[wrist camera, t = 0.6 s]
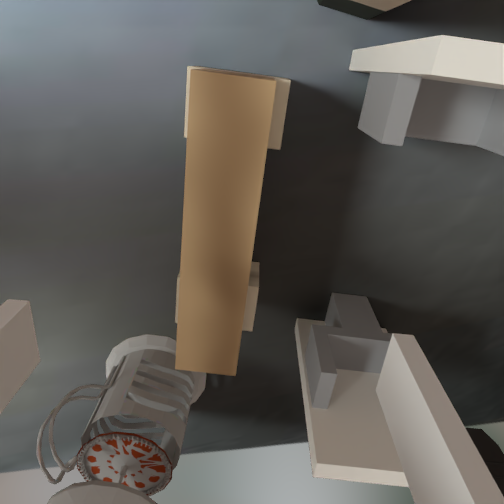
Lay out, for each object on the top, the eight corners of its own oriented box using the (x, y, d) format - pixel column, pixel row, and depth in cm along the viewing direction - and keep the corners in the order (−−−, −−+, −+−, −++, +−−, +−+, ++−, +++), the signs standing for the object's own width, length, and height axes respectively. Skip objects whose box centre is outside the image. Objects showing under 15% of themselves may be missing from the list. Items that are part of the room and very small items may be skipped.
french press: (167, 426, 41) (50, 872, 18) (69, 368, 38) (-217, 818, 15) (227, 373, 38) (176, 836, 15) (126, 304, 34) (-131, 757, 12)
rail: (187, 323, 30) (175, 369, 26) (204, 68, 23) (190, 69, 18) (239, 329, 30) (235, 376, 26) (273, 77, 23) (276, 81, 18)
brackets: (294, 329, 35) (313, 477, 22) (353, 49, 26) (442, 34, 13) (382, 339, 35) (449, 491, 23) (472, 66, 26) (675, 68, 13)
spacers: (184, 295, 34) (175, 322, 30) (197, 66, 26) (187, 66, 23) (253, 303, 34) (252, 331, 30) (286, 78, 26) (290, 80, 23)
